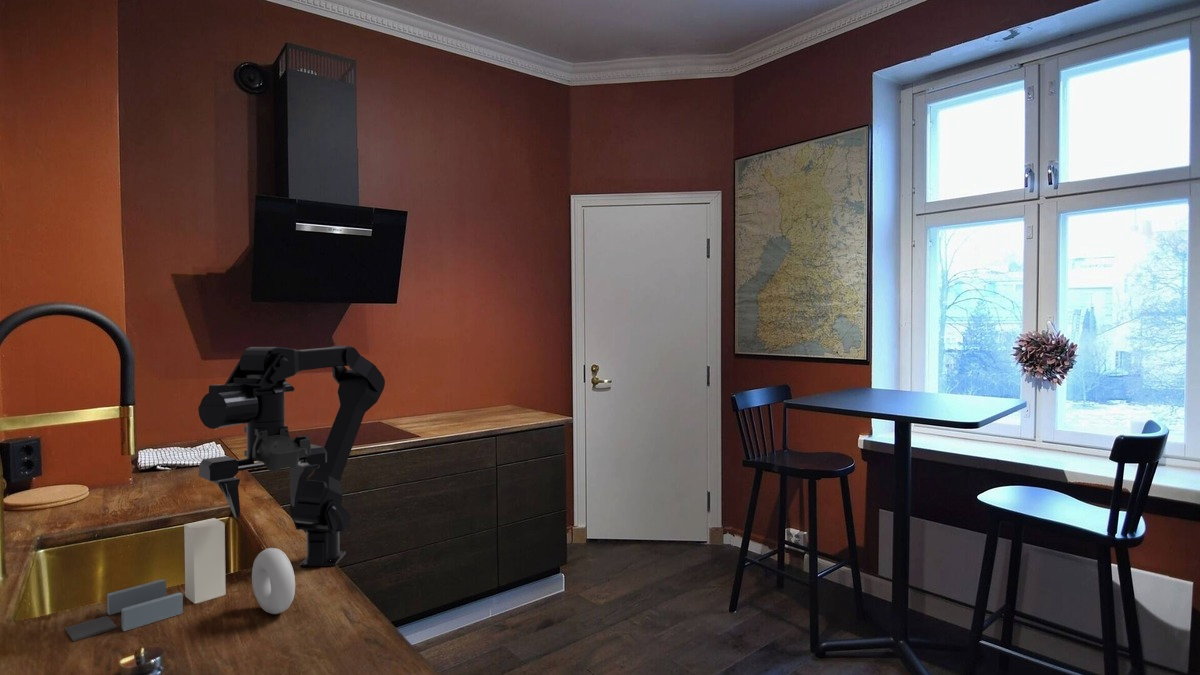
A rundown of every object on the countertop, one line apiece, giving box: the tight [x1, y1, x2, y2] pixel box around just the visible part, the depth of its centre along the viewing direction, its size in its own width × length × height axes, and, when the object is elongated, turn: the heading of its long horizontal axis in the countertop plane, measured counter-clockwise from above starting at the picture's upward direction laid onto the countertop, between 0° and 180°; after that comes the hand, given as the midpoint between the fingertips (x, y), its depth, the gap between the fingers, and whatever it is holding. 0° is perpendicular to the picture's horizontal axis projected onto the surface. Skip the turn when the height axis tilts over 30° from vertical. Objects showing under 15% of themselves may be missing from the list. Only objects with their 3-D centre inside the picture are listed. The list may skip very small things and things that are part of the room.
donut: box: [251, 547, 296, 615], centre depth 97 cm, size 10×4×10 cm, turn 51°
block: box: [183, 517, 227, 604], centre depth 104 cm, size 4×4×12 cm
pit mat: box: [64, 615, 118, 642], centre depth 92 cm, size 5×6×1 cm
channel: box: [106, 578, 184, 632], centre depth 97 cm, size 8×9×3 cm
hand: (266, 511), depth 106 cm, fingers open, 9 cm apart
